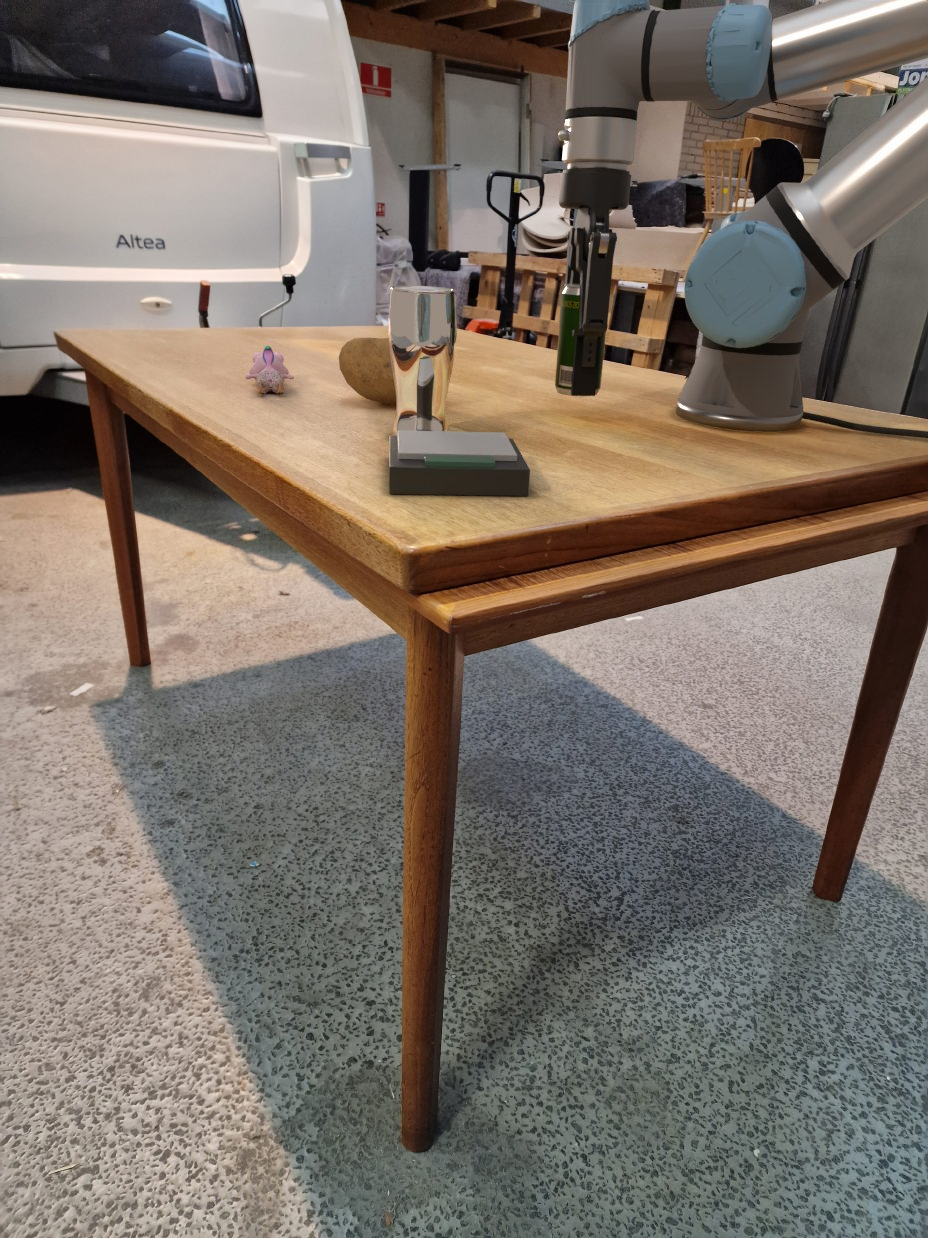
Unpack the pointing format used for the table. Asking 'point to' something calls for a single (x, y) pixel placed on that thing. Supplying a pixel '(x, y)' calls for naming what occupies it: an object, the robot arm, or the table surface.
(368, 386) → the potato
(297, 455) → the table surface
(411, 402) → the beer glass
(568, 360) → the beer can
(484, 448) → the scale
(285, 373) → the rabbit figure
